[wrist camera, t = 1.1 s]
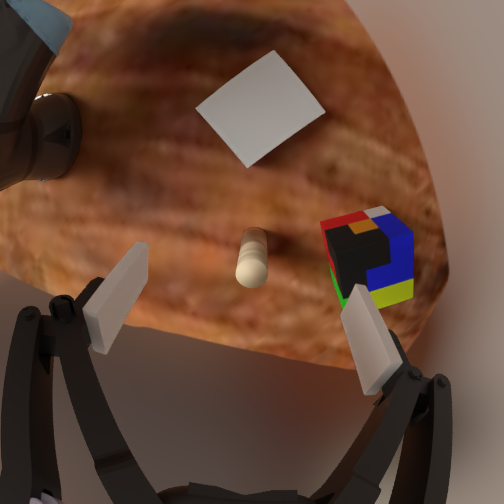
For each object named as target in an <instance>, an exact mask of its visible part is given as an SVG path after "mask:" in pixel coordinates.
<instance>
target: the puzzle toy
mask: <svg viewBox="0 0 504 504" xmlns="http://www.w3.org/2000/svg"><path fill="white" fill-rule="evenodd" d="M320 225H321V229H322V234H323V238H324V243H325V248H326V253H327V257H328V263H329V268H330V273H331V278H332V281H333V284H334V286H335V289H336V292H337V295H338V297H339V300H340V303H341V306H342V309H344V307H345V305H346V303H347V301H348V299H349V297H350V295H351V293H352V290H353V288H354V286H355V284H360V285H365V286H366V287H367V289H368V291H369V293H370V295H371V297H372V299H373V301H374V303H375V305H376V307H377V309H380V308H383V307H386V306H389V305H393V304H396V303H399V302H402V301H405V300H408V299H411V298H413V283H414V239H413V231H412V230H411V229H409V228H408V227H407V226H406V225H405V224H404V223H403V222H401V221H400V220H399V219H398V218H397V217H396V216H394V215H393V214H392V213H391V212H390V211H389V210H387V209H386V208H385V207H384V206H379V207H375V208H371V209H367V210H363V211H359V212H355V213H351V214H348V215H344V216H340V217H336V218H332V219H328V220H325V221H321V222H320Z"/></svg>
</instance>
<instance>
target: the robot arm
mask: <svg viewBox="0 0 504 504" xmlns="http://www.w3.org/2000/svg"><path fill="white" fill-rule="evenodd" d="M71 29H72V19H71V17H70V16H69V15H67V14H66V13H64V12H63V11H61V10H60V9H58V8H56V7H54V6H53V5H51V4H49V3H47V2H45V1H43V0H0V191H2V190H4V189H6V188H8V187H10V186H12V185H14V184H16V183H18V182H21V181H23V180H37V181H49V180H52V179H54V178H57V177H59V176H61V175H63V174H64V173H65V172H66V171H67V170H68V169H69V168H70V167H71V165H72V164H73V162H74V160H75V158H76V156H77V154H78V151H79V147H80V142H81V133H82V128H81V119H80V114H79V111H78V109H77V107H76V105H75V103H74V102H73V100H72V99H71V98H70V97H68V96H67V95H65V94H62V93H46V94H42V95H40V96H38V97H36V94H37V92H38V90H39V88H40V86H41V84H42V82H43V80H44V78H45V76H46V74H47V72H48V70H49V69H50V67H51V65H52V63H53V61H54V60H55V58H56V56H57V57H58V55H59V50H60V48H61V47H62V45H63V43H64V41H65V40H66V38H67V36H68V35H69V33H70V31H71ZM35 97H36V98H35ZM147 281H148V243H146V242H141V241H136V243H135V244H134V245H133V246H132V247H131V248H130V249H129V251H128V252H127V253H126V254H125V255H124V257H123V258H122V259H121V260H120V261H119V263H118V264H117V265H116V266H115V267H114V269H113V270H112V271H111V272H110V274H109V275H108V276H107V277H106V279H104V278H101V277H97V278H95V279H93V280H92V281H90V282H89V284H88V285H87V286H86V288H84V290H83V291H82V293H80V295H79V296H78V297H77V298H76V300H75V301H74V299H73V298H72V297H71V296H69V295H59V296H56V297H54V298H53V299H52V300H51V301H50V303H49V309H50V312H51V316H48V315H41V313H40V310H39V309H38V308H37V307H35V306H28V307H25V308H23V309H22V310H21V311H20V312H19V314H18V317H17V321H16V325H15V329H14V332H13V337H12V341H11V345H10V350H9V356H8V361H7V367H6V374H5V380H4V388H3V398H2V411H1V459H2V471H1V476H0V504H65V503H64V502H62V496H61V485H60V478H59V471H58V465H57V458H56V450H55V441H54V428H53V402H52V389H53V387H52V386H53V362H54V356H57V357H60V361H61V365H62V370H63V374H64V378H65V382H66V385H67V389H68V392H69V396H70V399H71V402H72V406H73V409H74V412H75V415H76V418H77V420H78V423H79V426H80V428H81V431H82V434H83V436H84V439H85V441H86V444H87V446H88V448H89V451H90V453H91V455H92V457H93V460H94V463H95V464H94V465H95V469H96V472H97V474H98V476H99V478H100V480H101V482H102V484H103V485H104V487H105V489H106V491H107V493H108V495H109V496H110V498H111V500H112V502H113V503H114V504H374V503H375V502H376V500H377V498H378V497H379V495H380V492H381V489H380V488H379V483H380V482H381V480H382V478H383V476H384V474H385V472H386V471H387V469H388V467H389V465H390V463H391V461H392V459H393V457H394V455H395V453H396V451H397V448H398V446H399V444H400V442H401V440H402V437H403V435H404V439H403V444H402V450H401V456H400V460H399V465H398V470H397V474H396V479H395V482H394V486H393V490H392V494H391V497H390V501H389V504H446V499H447V493H448V486H449V478H450V468H451V456H452V455H451V454H452V398H451V385H450V382H449V380H448V378H446V376H444V375H442V374H436V375H435V376H434V377H433V378H432V379H429V378H426V377H423V374H422V373H421V371H420V370H419V369H418V368H417V367H414V366H411V365H410V363H409V361H408V359H407V357H406V354H405V352H404V350H403V349H402V346H401V344H400V342H399V340H398V338H397V336H396V335H395V333H394V332H393V331H392V330H388V329H387V327H386V325H385V323H384V321H383V319H382V317H381V315H380V313H379V311H378V309H377V307H376V305H375V303H374V301H373V299H372V297H371V295H370V293H369V291H368V289H367V287H366V286H365V285H360V284H355V286H354V288H353V290H352V293H351V295H350V297H349V299H348V301H347V303H346V305H345V307H344V309H343V311H342V313H341V315H340V318H341V321H342V324H343V327H344V330H345V333H346V336H347V339H348V342H349V345H350V349H351V352H352V355H353V358H354V362H355V365H356V368H357V372H358V375H359V379H360V382H361V386H362V389H363V393H364V395H375V394H377V393H378V391H379V390H380V389H381V388H382V391H383V394H382V395H381V397H380V398H379V399H378V400H377V401H376V402H375V403H374V404H373V405H375V404H376V405H375V407H374V409H373V411H372V413H371V414H370V416H369V418H368V420H367V421H366V423H365V425H364V426H363V428H362V430H361V431H360V433H359V435H358V436H357V438H356V439H355V441H354V442H353V444H352V445H351V447H350V448H349V450H348V451H347V453H346V454H345V456H344V457H343V459H342V460H341V461H340V463H339V464H338V466H337V467H336V468H335V470H334V471H333V473H332V474H331V475H330V476H329V478H328V479H327V480H326V482H325V483H324V484H323V485H322V486H321V488H319V489H318V490H317V491H316V492H315V493H314V494H312V495H311V497H309V498H307V497H305V496H301V495H298V494H297V490H271V491H266V492H262V493H256V494H250V495H242V494H238V493H235V492H232V491H229V490H226V489H223V488H220V487H217V486H209V485H203V484H197V483H191V482H189V486H177V487H172V488H168V489H166V490H163V491H161V492H159V493H156V492H155V490H154V489H153V487H152V486H151V484H150V483H149V481H148V480H147V478H146V476H145V475H144V473H143V472H142V470H141V468H140V467H139V465H138V463H137V461H136V460H135V458H134V456H133V455H132V453H131V451H130V449H129V447H128V445H127V443H126V441H125V439H124V438H123V436H122V434H121V432H120V430H119V428H118V425H117V423H116V421H115V419H114V417H113V415H112V412H111V410H110V408H109V406H108V403H107V401H106V398H105V396H104V393H103V391H102V389H101V386H100V383H99V381H98V378H97V375H96V372H95V370H94V367H93V364H92V361H91V358H90V355H89V352H88V347H89V345H90V344H92V348H93V350H94V351H97V352H100V353H102V354H106V355H107V353H108V351H109V349H110V347H111V345H112V343H113V341H114V339H115V338H116V336H117V334H118V332H119V330H120V328H121V326H122V325H123V323H124V321H125V319H126V317H127V316H128V314H129V312H130V310H131V308H132V307H133V305H134V303H135V301H136V300H137V298H138V296H139V295H140V293H141V291H142V289H143V288H144V286H145V284H146V283H147Z"/></svg>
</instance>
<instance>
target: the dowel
mask: <svg viewBox="0 0 504 504" xmlns="http://www.w3.org/2000/svg"><path fill="white" fill-rule="evenodd" d="M267 276H268V267H267V235H266V233H265V232H264V231H263V230H262V229H261V228H258V227H251V228H249V229H247V230H246V231H245V232H244V233H243V236H242V242H241V247H240V253H239V258H238V264H237V269H236V278H237V280H238V282H239V283H240V284H241V285H243V286H245V287H248V288H256V287H259V286H261V285H263V284H264V283H265V281H266V280H267Z"/></svg>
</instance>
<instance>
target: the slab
mask: <svg viewBox="0 0 504 504" xmlns="http://www.w3.org/2000/svg"><path fill="white" fill-rule="evenodd" d="M195 109H196V110H197V111H198V112H199V113H200V114H201V115H202V116H203V118H204V119H205V120H206V121H207V122H208V123H209V124H210V125H211V127H212V128H213V129H214V130H215V131H216V132H217V133H218V135H219V136H220V137H221V138H222V139H223V140H224V142H225V143H226V144H227V145H228V146H229V147H230V149H231V150H232V151H233V152H234V153H235V154H236V156H237V157H238V158H239V159H240V160H241V162H242V163H243V164H244V165H245V166H246V168H248V167H250V166H251V165H252V164H254V163H255V162H256V161H258V160H259V159H260V158H262V157H263V156H264V155H266V154H267V153H268V152H270V151H271V150H272V149H274V148H275V147H276V146H278V145H279V144H281V143H282V142H283V141H285V140H286V139H288V138H289V137H290V136H292V135H293V134H295V133H296V132H297V131H299V130H300V129H302V128H303V127H305V126H306V125H307V124H309V123H310V122H312V121H313V120H315V119H316V118H318V117H319V116H321V115H322V114H324V113H325V111H324V109H323V108H322V107H321V105H320V104H319V103H318V101H317V100H316V99H315V97H314V96H313V95H312V94H311V92H310V91H309V90H308V89H307V87H306V86H305V85H304V84H303V83H302V81H301V80H300V79H299V78H298V77H297V75H296V74H295V73H294V72H293V71H292V70H291V68H290V67H289V66H288V65H287V64H286V63H285V62H284V60H283V59H282V58H281V57H280V56H279V55H278V54H277V53H276V52H275V51H274V50H273V51H271V52H270V53H268V54H267V55H265V56H264V57H262V58H261V59H259V60H258V61H256V62H255V63H253V64H252V65H250V66H249V67H247V68H246V69H245V70H243V71H242V72H241V73H239V74H238V75H236V76H235V77H234V78H232V79H231V80H230V81H228V82H227V83H226V84H225V85H223V86H222V87H221V88H219V89H218V90H217V91H216V92H214V93H213V94H212V95H211V96H209V97H208V98H207V99H206V100H205V101H203V102H202V103H201V104H200V105H199V106H198V107H196V108H195Z"/></svg>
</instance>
